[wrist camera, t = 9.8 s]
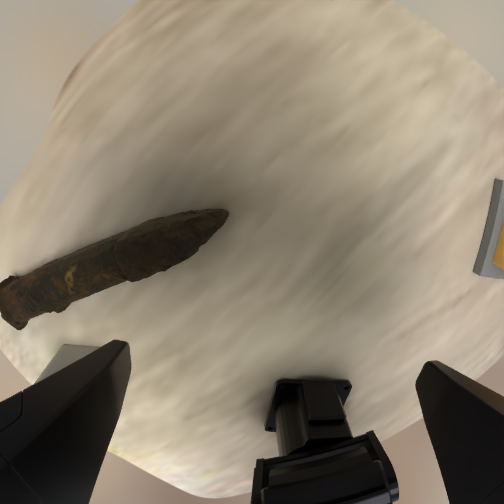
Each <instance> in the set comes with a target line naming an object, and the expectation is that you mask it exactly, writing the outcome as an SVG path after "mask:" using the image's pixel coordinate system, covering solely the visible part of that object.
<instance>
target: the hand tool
mask: <svg viewBox="0 0 504 504" xmlns="http://www.w3.org/2000/svg"><path fill="white" fill-rule="evenodd" d="M228 216H229V212H228V211H226V210H223V209H222V210H221V209H206V210H201V211H192V210H191V211H187V212H181V213H178V214H174V215H171V216H168V217H160V218H157V219H152V220H148V221H146V222H144V223H143V224H141V225H139V226H137V227H134V228H132V229H130V230H128V231H125V232H122V233H120V234H117V235H115V236H112V237H110V238H107V239H104V240H101V241H99V242H97V243H94V244H92V245H90V246H87V247H85V248H82V249H80V250H78V251H76V252H74V253H72V254H70V255H68V256H66V257H63V258H61V259H57V260H55V261H53V262H50V263H47V264H45V265H43V266H42V267H41V268H38V269H36V270H34V271H33V272H32V273H30V274H28V275H26V276H23V277H21V278H18V277H15V276H9V278H7V279H5V280H3V281H2V282H1V283H0V312H1V317H2V318H3V319H4V320H5V321H7V323H9V324H10V325H12V326H13V327H14V328H16V329H17V330H21V329H23V328H24V327H26V325H27V323H28V321H29V320H30V319H31V318H34V317H36V316H39V315H41V314H43V313H47V312H49V313H51V312H52V311H55V312H56V313H60V312H62V311H64V310H65V309H66V308H67V307H68V306H69V305H70V304H71V303H72V302H74V301H77V300H79V299H82V298H85V297H88V296H90V295H92V294H94V293H97V292H100V291H102V290H104V289H107V288H109V287H112V286H114V285H117V284H120V283H122V282H125V281H127V280H128V281H130V282H135V281H139V280H141V279H143V278H148V277H150V276H152V275H153V274H155V273H157V272H160V271H166V270H167V269H169V268H170V267H172V266H174V265H176V264H179V263H181V262H182V261H184V260H186V259H188V258H189V257H191V256H192V255H193V254H195V253H196V252H197V251H198V249H199V247H200V246H201V245H203V244H205V243H206V242H207V241H208V240H209V239H210V238H211V237H212V235H213V234H214V233H215V232H216V231H217V230H218V229H220V228H221V227H222V226H223V224H224V223H225V221H226V220H227V218H228Z"/></svg>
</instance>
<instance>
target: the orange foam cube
mask: <svg viewBox="0 0 504 504" xmlns="http://www.w3.org/2000/svg"><path fill="white" fill-rule="evenodd" d="M492 263H493V264H495V265H497V266H498V267H500V268H502V269H503V270H504V221H503V225H502V229H501V233H500V237H499V241H498V245H497V248H496V252H495V255H494V259H493V262H492Z"/></svg>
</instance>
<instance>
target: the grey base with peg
mask: <svg viewBox="0 0 504 504" xmlns="http://www.w3.org/2000/svg"><path fill="white" fill-rule="evenodd" d="M503 221H504V181H502V180H498V179H495V182H494V188H493V194H492V199H491V204H490V209H489V214H488V218H487V223H486V227H485V231H484V235H483V239H482V243H481V246H480V250H479V253H478V257H477V260H476V263H475V267H474V270H473V272H474V273H476V274H477V275H479V276H484V277H491V278H499V279H504V270H503V269H502V268H500V267H498V266H497V265H495V264H493V263H492V262H493V259H494V255H495V252H496V248H497V245H498V241H499V237H500V233H501V229H502V225H503Z"/></svg>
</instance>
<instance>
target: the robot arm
mask: <svg viewBox="0 0 504 504" xmlns="http://www.w3.org/2000/svg"><path fill="white" fill-rule="evenodd" d="M130 374H131V356H130V347H129V344H128V343H127V342H125V341H120V340H112V341H111V342H109V343H107V344H105V345H104V346H102V347H100V348H98V349H96V350H95V351H93V352H91V353H89V354H87V355H86V356H84V357H82V358H80V359H78V360H77V361H75V362H73V363H71V364H69V365H68V366H66V367H64V368H62V369H60V370H59V371H57V372H55V373H53V374H51V375H50V376H48V377H46V378H44V379H42V380H41V381H39V382H37V383H35V384H33V385H31V386H30V387H28V388H26V389H24V390H23V392H22V391H20V392H19V393H17V394H15V395H13V396H11V397H9V398H7V399H5V400H3V401H1V402H0V504H89V501H90V498H91V495H92V492H93V489H94V486H95V483H96V480H97V477H98V474H99V471H100V468H101V466H102V462H103V460H104V457H105V454H106V451H107V449H108V446H109V443H110V441H111V438H112V435H113V433H114V430H115V427H116V425H117V422H118V419H119V416H120V412H121V409H122V405H123V401H124V397H125V393H126V389H127V385H128V381H129V377H130ZM281 385H284V386H281ZM415 385H416V391H417V394H418V398H419V402H420V406H421V409H422V413H423V417H424V421H425V424H426V428H427V431H428V434H429V437H430V440H431V442H432V445H433V449H434V451H435V455H436V458H437V461H438V464H439V467H440V471H441V474H442V477H443V481H444V485H445V488H446V491H447V495H448V499H449V503H450V504H504V397H503V396H502V395H500V394H498V393H496V392H494V391H492V390H490V389H488V388H487V387H485V386H483V385H481V384H479V383H478V382H476V381H474V380H472V379H470V378H469V377H467V376H465V375H463V374H461V373H459V372H458V371H456V370H454V369H452V368H450V367H448V366H447V365H445V364H443V363H441V362H439V361H436V360H435V361H427V362H426V363H425V364H424V366H423V368H422V370H421V372H420V374H419V376H418V378H417V380H416V384H415ZM345 386H346V387H345ZM351 388H352V385H351V383H350V382H349V381H306V380H279V381H277V382H276V385H275V388H274V392H273V396H272V400H271V404H270V407H269V411H268V415H267V418H266V422H265V430H266V431H269V432H277V440H278V449H279V457H274V458H269V459H264V458H263V459H257V461H256V468H254V477H253V487H252V497H251V502H250V504H392V502H395V501H398V499H399V487H398V482H397V478H396V474H395V471H394V469H393V466H392V464H391V462H390V460H389V458H388V456H387V454H386V453H385V451H384V449H383V447H382V445H381V444H380V442H379V440H378V438H377V437H376V435H375V433H374V431H373V430H372V431H369V432H366V434H364V435H361V436H357V437H354V438H353V436H352V433H351V430H350V427H349V424H348V421H347V419H346V413H345V411H344V408H343V406H344V404H345V401H346V399H347V397H348V395H349V393H350V390H351Z"/></svg>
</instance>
